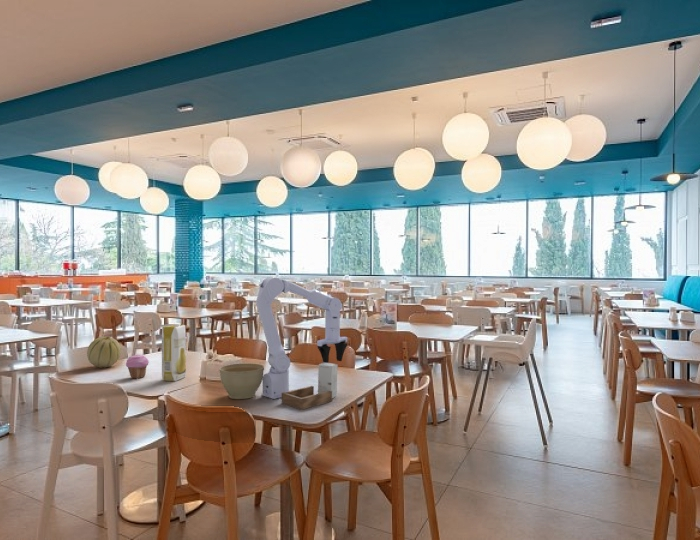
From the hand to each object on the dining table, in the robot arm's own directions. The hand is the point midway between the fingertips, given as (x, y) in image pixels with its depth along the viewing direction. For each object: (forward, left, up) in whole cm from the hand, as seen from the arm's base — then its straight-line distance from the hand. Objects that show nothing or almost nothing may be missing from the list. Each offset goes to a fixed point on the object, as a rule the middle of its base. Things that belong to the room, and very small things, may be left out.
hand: (332, 362), depth 186 cm
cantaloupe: (-50, +107, -11) cm, 119 cm away
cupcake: (-47, +74, -11) cm, 88 cm away
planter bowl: (-31, +16, -11) cm, 36 cm away
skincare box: (-9, -7, -11) cm, 16 cm away
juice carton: (-37, +60, -11) cm, 71 cm away
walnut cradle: (-19, -7, -10) cm, 23 cm away
